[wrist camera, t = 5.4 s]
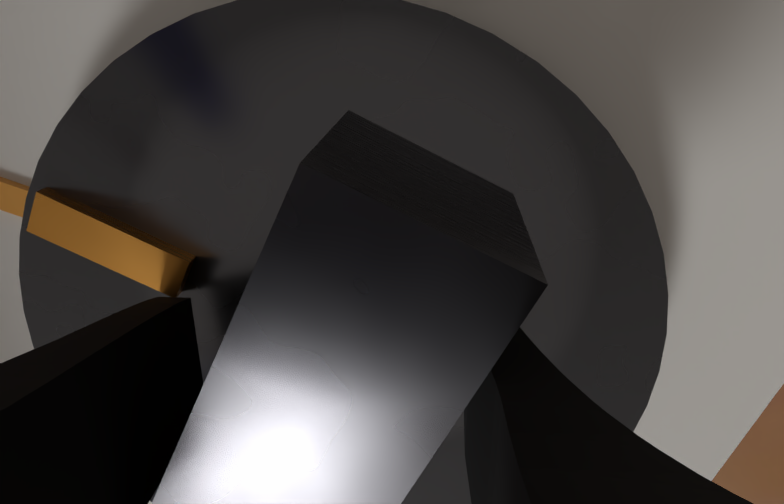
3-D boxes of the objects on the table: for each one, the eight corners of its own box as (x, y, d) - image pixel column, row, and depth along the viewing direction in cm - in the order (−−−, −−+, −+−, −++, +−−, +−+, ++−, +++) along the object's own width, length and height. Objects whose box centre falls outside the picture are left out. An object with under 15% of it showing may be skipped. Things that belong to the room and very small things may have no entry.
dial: (790, 193, 10) (1020, 315, 6) (460, 602, 15) (467, 832, 11) (148, -151, 9) (-95, -283, 5) (-1, 408, 14) (-194, 582, 10)
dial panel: (549, 634, 18) (560, 695, 16) (-47, 445, 17) (-98, 490, 15) (973, 18, 11) (1064, 20, 9) (-1, -367, 10) (-85, -439, 8)
